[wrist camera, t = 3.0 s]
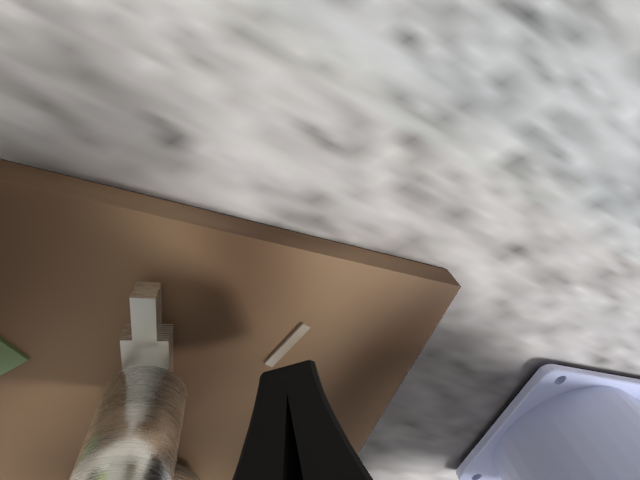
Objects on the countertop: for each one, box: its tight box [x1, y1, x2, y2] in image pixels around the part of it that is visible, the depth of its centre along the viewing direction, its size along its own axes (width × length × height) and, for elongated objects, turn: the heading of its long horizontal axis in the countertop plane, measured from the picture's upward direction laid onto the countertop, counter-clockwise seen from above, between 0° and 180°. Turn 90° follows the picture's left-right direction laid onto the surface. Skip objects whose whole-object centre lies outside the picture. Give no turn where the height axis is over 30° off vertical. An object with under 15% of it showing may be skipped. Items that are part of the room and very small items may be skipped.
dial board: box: [0, 159, 461, 480], centre depth 14 cm, size 16×18×1 cm
